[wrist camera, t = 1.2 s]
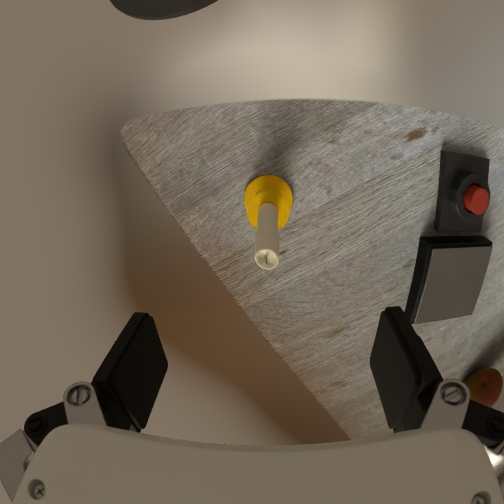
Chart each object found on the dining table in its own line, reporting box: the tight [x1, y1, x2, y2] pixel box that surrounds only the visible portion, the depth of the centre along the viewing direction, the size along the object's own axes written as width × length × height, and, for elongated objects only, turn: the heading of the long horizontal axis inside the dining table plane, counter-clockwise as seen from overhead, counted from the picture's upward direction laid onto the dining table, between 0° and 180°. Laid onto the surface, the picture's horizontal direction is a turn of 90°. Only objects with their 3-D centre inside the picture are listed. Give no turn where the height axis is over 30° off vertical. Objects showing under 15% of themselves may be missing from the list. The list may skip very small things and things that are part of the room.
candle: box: [244, 175, 293, 269], centre depth 24 cm, size 5×5×16 cm
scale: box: [404, 236, 492, 324], centre depth 32 cm, size 12×12×3 cm
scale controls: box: [434, 151, 490, 232], centre depth 27 cm, size 10×8×3 cm
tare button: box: [464, 185, 489, 215], centre depth 25 cm, size 3×3×2 cm
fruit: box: [463, 368, 503, 408], centre depth 39 cm, size 12×13×10 cm
